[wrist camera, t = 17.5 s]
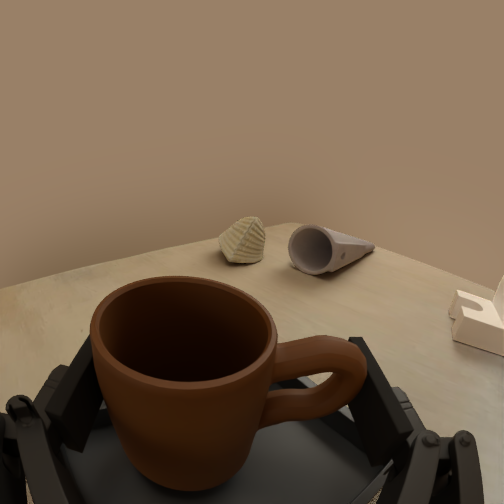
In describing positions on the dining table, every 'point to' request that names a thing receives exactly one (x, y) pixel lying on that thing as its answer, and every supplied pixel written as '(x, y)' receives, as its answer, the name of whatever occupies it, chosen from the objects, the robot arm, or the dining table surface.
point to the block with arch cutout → (479, 320)
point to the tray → (252, 472)
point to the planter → (324, 249)
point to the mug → (206, 376)
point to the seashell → (243, 241)
